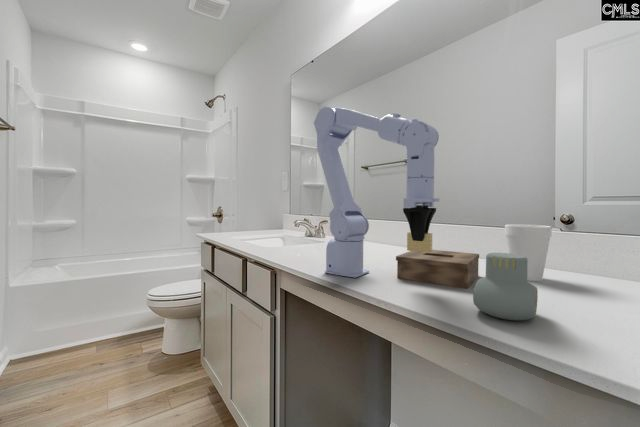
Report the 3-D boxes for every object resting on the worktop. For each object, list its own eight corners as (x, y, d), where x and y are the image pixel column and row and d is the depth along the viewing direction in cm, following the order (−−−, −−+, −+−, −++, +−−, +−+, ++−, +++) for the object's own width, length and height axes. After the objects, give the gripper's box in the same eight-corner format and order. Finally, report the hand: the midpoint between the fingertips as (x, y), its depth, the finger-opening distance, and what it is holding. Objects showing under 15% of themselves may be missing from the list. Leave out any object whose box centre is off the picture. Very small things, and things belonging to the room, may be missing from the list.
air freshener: (484, 301, 57) (485, 249, 57) (537, 311, 52) (539, 253, 52) (470, 318, 49) (471, 257, 48) (532, 332, 44) (533, 263, 43)
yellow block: (407, 250, 67) (407, 232, 67) (409, 249, 69) (409, 232, 69) (430, 252, 64) (430, 233, 64) (432, 251, 66) (432, 233, 66)
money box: (395, 278, 74) (395, 256, 74) (417, 267, 87) (417, 248, 87) (466, 289, 65) (467, 264, 65) (478, 275, 78) (479, 253, 77)
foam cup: (535, 273, 79) (536, 224, 79) (559, 283, 70) (561, 227, 70) (497, 273, 80) (498, 224, 80) (516, 282, 71) (517, 227, 70)
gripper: (428, 175, 58) (428, 245, 58) (447, 179, 70) (446, 238, 70) (393, 176, 62) (393, 242, 62) (417, 181, 74) (416, 236, 74)
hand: (419, 240), depth 66 cm, fingers closed on yellow block, 1 cm apart
